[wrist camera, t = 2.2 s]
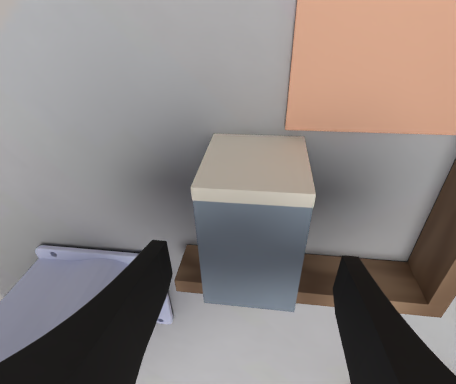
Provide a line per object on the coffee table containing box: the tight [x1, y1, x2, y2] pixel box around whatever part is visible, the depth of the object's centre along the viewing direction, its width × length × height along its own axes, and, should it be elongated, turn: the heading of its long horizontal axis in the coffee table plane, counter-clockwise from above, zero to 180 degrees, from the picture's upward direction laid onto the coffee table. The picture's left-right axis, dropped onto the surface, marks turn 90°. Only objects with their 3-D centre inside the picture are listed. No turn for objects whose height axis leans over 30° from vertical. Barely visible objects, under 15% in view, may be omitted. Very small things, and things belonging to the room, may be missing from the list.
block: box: [191, 134, 316, 312], centre depth 15 cm, size 4×7×5 cm, turn 1°
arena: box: [175, 0, 456, 318], centre depth 14 cm, size 15×16×3 cm
